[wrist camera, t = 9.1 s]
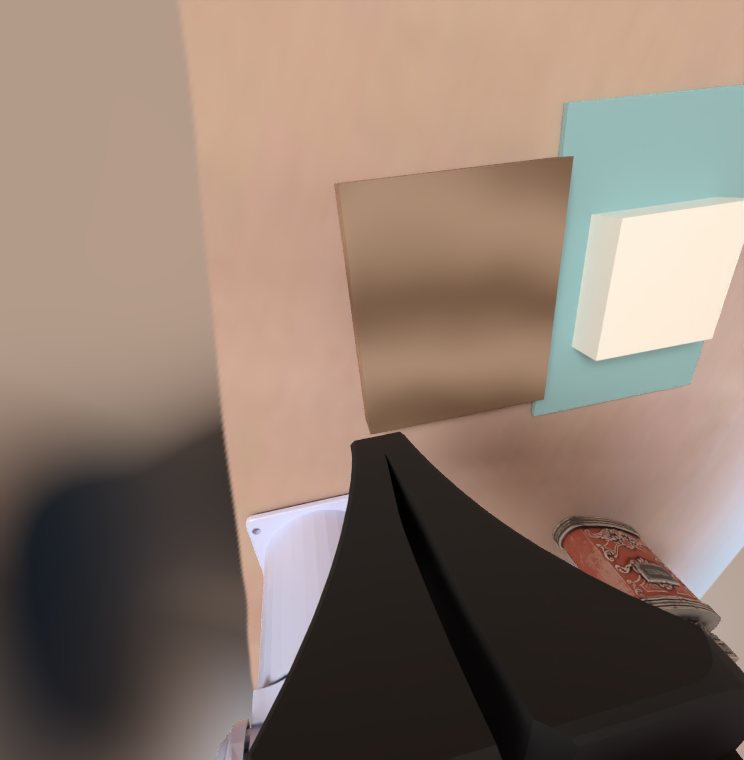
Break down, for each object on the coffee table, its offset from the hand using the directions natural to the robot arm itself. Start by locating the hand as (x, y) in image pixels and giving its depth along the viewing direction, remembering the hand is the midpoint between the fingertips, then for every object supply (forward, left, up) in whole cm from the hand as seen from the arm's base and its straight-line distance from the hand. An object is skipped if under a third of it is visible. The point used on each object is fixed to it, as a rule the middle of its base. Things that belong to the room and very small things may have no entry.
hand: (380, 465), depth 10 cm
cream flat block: (0, -17, -10) cm, 19 cm away
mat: (+1, -17, -10) cm, 20 cm away
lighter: (-20, -18, -11) cm, 29 cm away
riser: (+1, -6, -10) cm, 12 cm away
